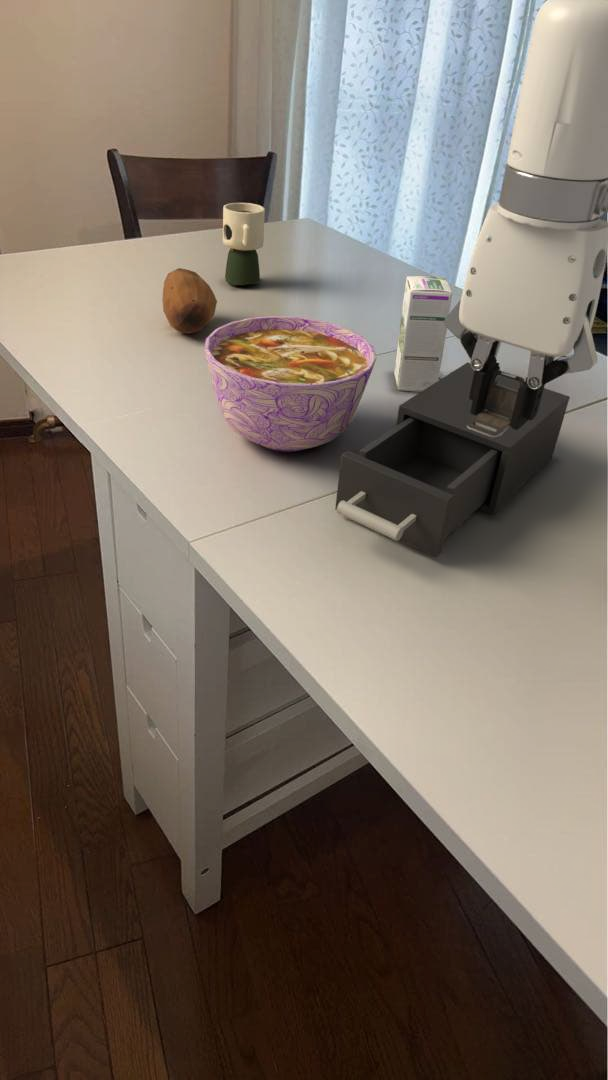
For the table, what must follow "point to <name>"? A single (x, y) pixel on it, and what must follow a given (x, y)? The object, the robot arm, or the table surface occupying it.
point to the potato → (187, 301)
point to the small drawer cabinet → (519, 447)
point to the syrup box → (422, 332)
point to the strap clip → (496, 408)
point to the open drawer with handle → (416, 483)
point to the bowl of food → (288, 379)
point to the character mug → (243, 241)
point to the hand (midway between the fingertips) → (500, 414)
